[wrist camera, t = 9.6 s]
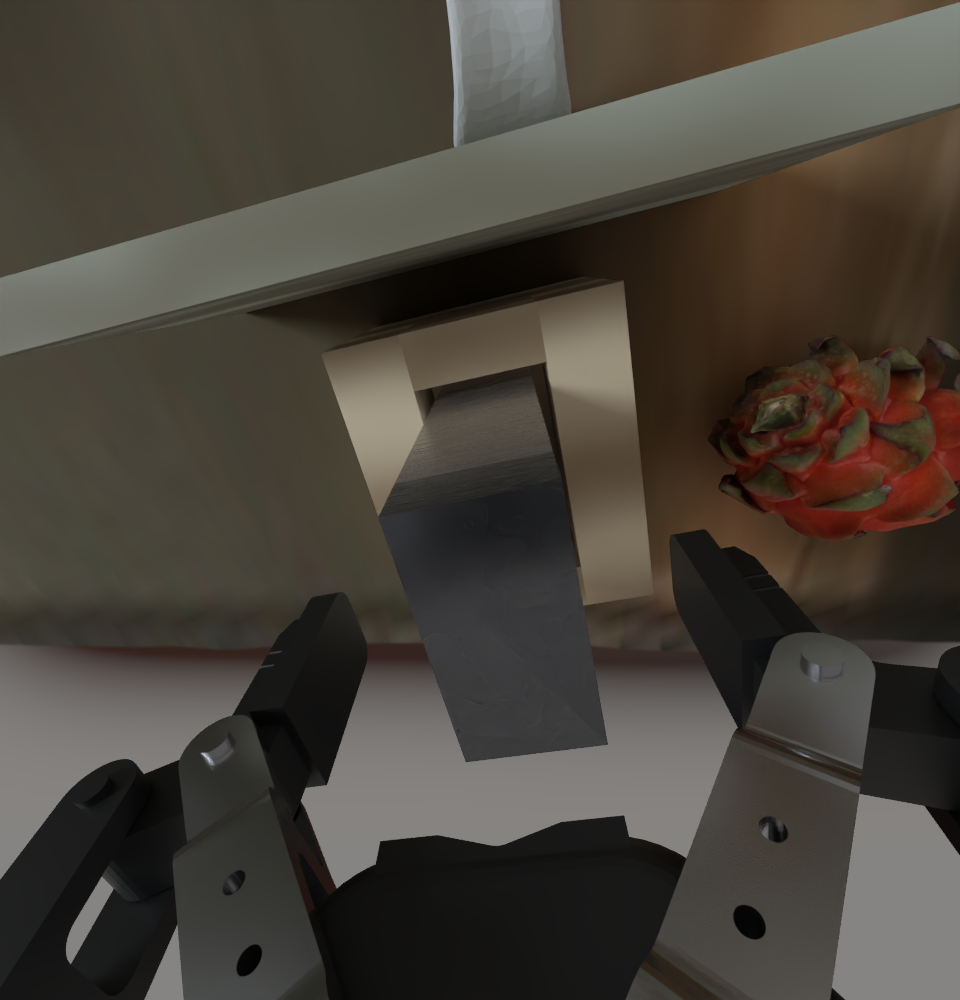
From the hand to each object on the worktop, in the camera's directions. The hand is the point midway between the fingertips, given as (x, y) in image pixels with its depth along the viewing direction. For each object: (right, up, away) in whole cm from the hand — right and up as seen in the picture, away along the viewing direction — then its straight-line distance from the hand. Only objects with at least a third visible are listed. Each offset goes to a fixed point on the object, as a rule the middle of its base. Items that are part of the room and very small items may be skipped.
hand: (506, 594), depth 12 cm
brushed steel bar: (0, +4, +9) cm, 10 cm away
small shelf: (0, +8, +13) cm, 15 cm away
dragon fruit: (+16, +6, +13) cm, 21 cm away
